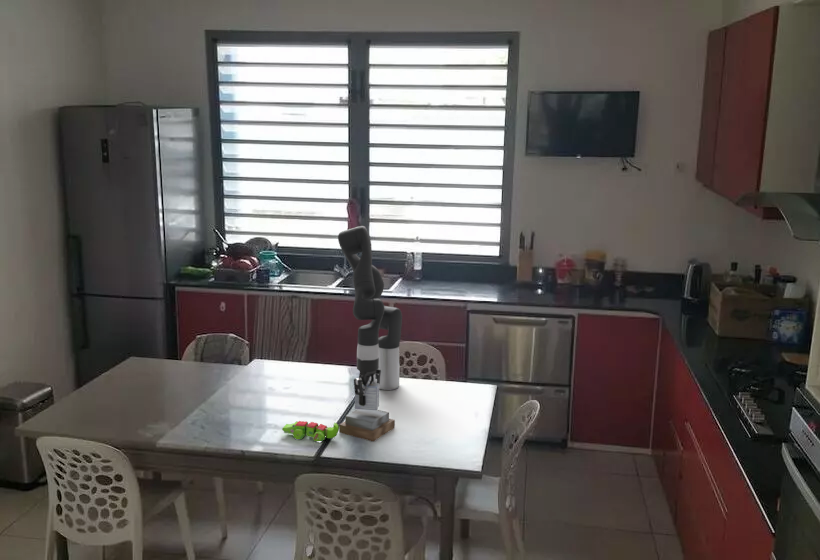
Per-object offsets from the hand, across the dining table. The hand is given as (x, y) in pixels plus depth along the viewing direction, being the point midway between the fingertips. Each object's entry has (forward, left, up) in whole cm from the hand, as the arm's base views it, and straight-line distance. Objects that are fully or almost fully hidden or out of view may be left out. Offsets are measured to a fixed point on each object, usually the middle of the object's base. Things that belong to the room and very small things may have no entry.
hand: (367, 402), depth 267 cm
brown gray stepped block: (0, 0, -10) cm, 10 cm away
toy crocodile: (+15, -13, -11) cm, 23 cm away
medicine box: (0, 0, -2) cm, 2 cm away
